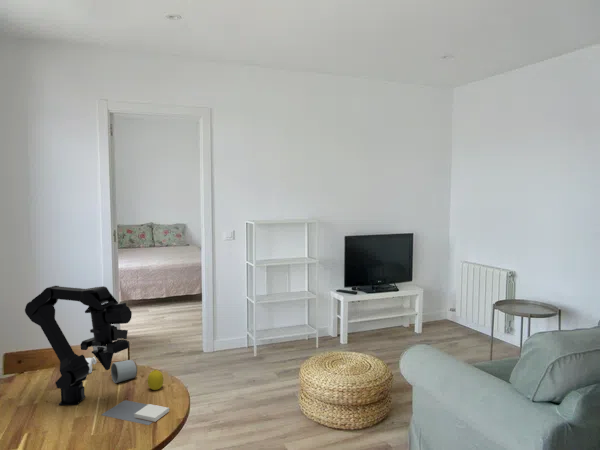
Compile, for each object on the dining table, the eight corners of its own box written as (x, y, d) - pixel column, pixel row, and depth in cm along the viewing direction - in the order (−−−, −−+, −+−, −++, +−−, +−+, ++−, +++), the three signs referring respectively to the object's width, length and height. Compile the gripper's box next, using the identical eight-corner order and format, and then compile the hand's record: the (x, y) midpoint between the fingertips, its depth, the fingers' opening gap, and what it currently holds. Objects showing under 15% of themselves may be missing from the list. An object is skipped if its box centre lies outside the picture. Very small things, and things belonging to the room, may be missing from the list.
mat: (100, 417, 145) (100, 414, 145) (124, 402, 155) (124, 400, 155) (148, 427, 139) (148, 425, 139) (170, 411, 149) (170, 408, 149)
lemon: (158, 394, 161) (158, 373, 160) (145, 393, 162) (144, 372, 162) (166, 388, 166) (165, 367, 166) (152, 387, 168) (152, 366, 167)
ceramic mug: (139, 379, 174) (138, 360, 174) (118, 385, 169) (117, 365, 168) (128, 372, 182) (127, 353, 182) (107, 377, 177) (106, 358, 176)
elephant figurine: (97, 367, 187) (97, 353, 187) (96, 374, 180) (95, 360, 179) (79, 369, 185) (79, 355, 184) (77, 376, 177) (76, 362, 177)
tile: (134, 413, 143) (155, 417, 140) (148, 403, 149) (168, 407, 147) (134, 418, 143) (155, 422, 140) (149, 408, 149) (169, 412, 147)
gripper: (139, 318, 153) (145, 363, 154) (105, 317, 163) (111, 359, 163) (111, 328, 143) (117, 375, 144) (76, 326, 153) (83, 370, 154)
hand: (107, 369), depth 152 cm, fingers closed
